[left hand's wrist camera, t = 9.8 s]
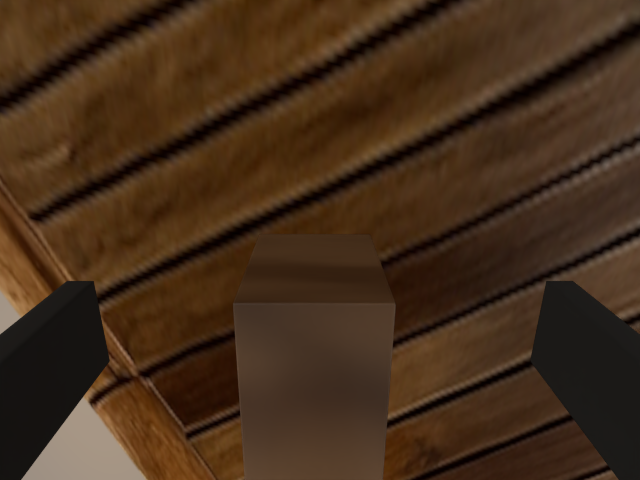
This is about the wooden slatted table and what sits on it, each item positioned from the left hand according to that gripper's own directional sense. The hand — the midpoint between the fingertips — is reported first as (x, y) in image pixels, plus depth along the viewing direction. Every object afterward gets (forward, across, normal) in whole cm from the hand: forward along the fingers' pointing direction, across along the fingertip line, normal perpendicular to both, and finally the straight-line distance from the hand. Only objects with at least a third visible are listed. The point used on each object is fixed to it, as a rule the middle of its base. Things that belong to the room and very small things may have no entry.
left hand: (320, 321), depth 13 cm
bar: (+10, 0, -14) cm, 17 cm away
